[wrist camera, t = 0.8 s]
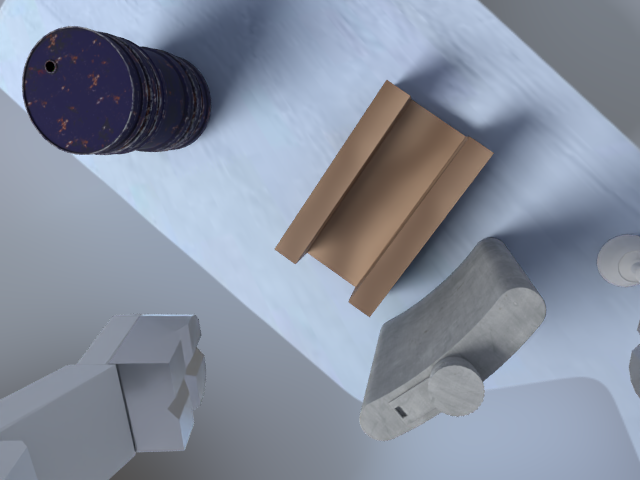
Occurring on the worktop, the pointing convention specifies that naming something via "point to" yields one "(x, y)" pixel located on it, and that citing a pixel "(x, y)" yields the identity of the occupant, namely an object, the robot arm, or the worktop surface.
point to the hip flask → (450, 343)
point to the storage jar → (112, 94)
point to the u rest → (384, 195)
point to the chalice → (620, 261)
